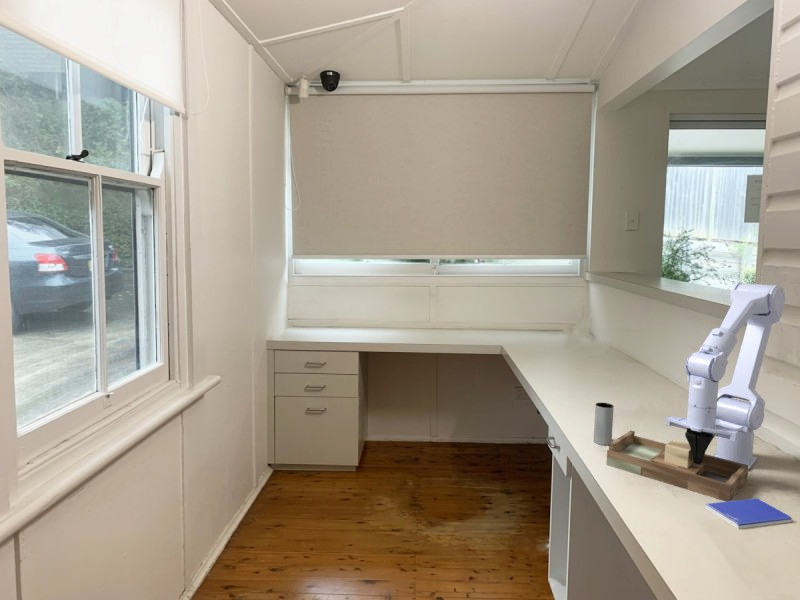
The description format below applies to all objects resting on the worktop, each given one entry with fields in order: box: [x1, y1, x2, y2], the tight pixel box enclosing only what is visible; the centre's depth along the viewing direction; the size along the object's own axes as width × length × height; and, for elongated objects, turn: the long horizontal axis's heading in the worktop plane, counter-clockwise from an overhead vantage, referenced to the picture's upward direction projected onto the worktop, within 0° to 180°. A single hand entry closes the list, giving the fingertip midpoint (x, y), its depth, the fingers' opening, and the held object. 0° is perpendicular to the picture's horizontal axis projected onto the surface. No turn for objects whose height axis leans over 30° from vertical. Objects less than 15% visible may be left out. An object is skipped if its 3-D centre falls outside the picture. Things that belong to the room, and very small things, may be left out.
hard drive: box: [704, 497, 793, 530], centre depth 106 cm, size 2×8×12 cm
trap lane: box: [605, 430, 749, 502], centre depth 125 cm, size 15×26×5 cm, turn 45°
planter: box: [593, 402, 615, 446], centre depth 143 cm, size 4×4×10 cm
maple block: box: [664, 439, 694, 468], centre depth 126 cm, size 5×5×4 cm
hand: (697, 462), depth 124 cm, fingers closed
